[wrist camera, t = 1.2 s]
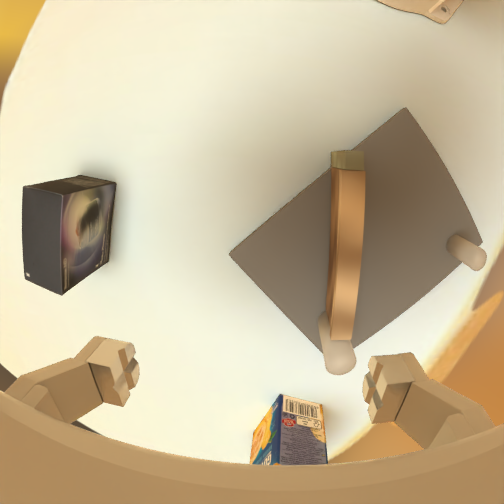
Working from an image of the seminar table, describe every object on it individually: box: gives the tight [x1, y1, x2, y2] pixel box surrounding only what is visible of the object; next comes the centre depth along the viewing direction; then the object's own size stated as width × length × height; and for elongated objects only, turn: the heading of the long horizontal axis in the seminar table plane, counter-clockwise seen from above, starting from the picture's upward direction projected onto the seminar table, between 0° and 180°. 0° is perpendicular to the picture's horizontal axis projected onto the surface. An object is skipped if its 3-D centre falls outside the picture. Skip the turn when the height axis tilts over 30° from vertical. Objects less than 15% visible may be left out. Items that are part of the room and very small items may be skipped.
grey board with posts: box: [229, 108, 487, 375], centre depth 27 cm, size 25×19×9 cm
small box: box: [22, 175, 116, 296], centre depth 28 cm, size 11×6×10 cm, turn 166°
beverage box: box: [250, 394, 328, 465], centre depth 30 cm, size 7×11×22 cm, turn 160°
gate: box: [326, 150, 366, 340], centre depth 26 cm, size 17×2×7 cm, turn 2°
